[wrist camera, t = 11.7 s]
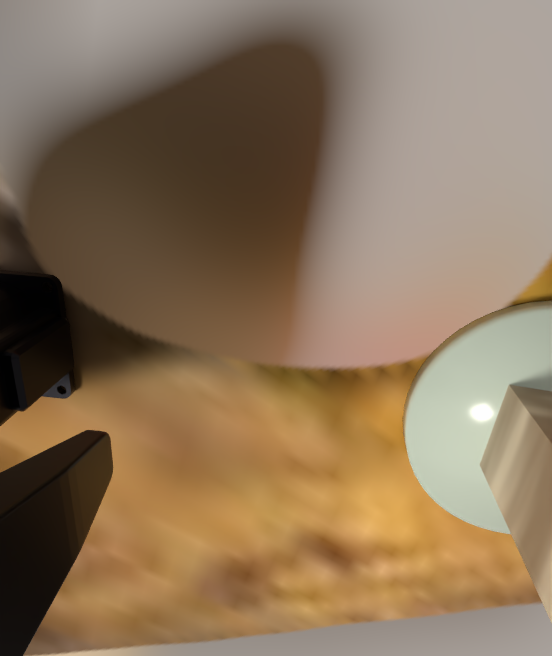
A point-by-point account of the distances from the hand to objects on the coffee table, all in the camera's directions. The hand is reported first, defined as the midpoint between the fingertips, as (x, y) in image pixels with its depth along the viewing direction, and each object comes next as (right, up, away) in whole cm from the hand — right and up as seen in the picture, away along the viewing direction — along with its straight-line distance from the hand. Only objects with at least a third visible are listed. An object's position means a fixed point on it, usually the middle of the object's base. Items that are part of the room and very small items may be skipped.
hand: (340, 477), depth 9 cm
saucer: (+11, -2, +13) cm, 17 cm away
